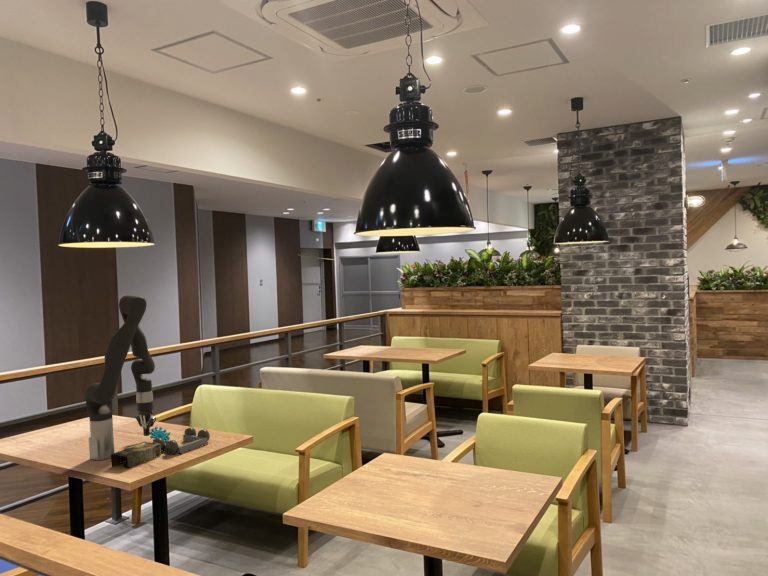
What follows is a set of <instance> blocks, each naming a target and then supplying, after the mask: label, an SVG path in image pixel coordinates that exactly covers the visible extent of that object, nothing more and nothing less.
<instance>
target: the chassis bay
mask: <svg viewBox="0 0 768 576" xmlns="http://www.w3.org/2000/svg"><path fill="white" fill-rule="evenodd" d="M210 437H211V436H210V432H209V431H208V430H207V429H206V428H204V429H201V430H198V432H197V431H196V429H195V428H194V427H192V426H191V427H187V428H186V429H185V430H184V434H183V435H182V441H183V442H185V441H187V442H186V443H185V444H182V445H179V444H178V442H177V441H176V440H174V439H172V440H168V442H167V443H166V442H165V440H164V441H163V439H162V438H157V439H155V438H153V439H152V442H155V443H159V444H160V445H161V451H162V452H165V451H167V452H166V453H168V455H170V454H172V455H175V454H176V453H182V454H184V453H183V452H185V453H186V451H187V452H189V450H190V451H193V450H194V449H197V448H200V446H201V447H203V446H205V444H206V445H208V444H209V440H210ZM164 442H165V443H164ZM202 445H203V446H202ZM192 449H193V450H192Z"/></svg>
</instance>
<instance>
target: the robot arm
mask: <svg viewBox="0 0 768 576" xmlns="http://www.w3.org/2000/svg"><path fill="white" fill-rule="evenodd" d="M119 299H120V300H119V302H118V308H119V312H120V315H121V318H122V320H123V324H122V325H121V327H120V328H119V329H117V331H116V332H114V334H113V335H112V336H111V337H110V338H109V341H108V343H107V346H106V349H105V351H104V371H103V374H102V377H101V380H100V382H93V383H91V384H89V386H87V388H86V391H85V405H86V412H87V415H88V418H89V433H90V434H89V435H90V436H89V437H88V450H89V452H88V453H89V454H88V455H89V460H94V461H102V460H107V459H111V454H113V453H116V451H115V440H114V439H115V437H114V423H113V422H114V421H113V420H114V419H113V411H112V410H111V409H110V408H109V406H108V404H110V402H112V400H113V399H114V396H115V394H116V391H117V386H118V384H119V378H120V376H121V372H122V369H123V366H124V364H125V360H126V359H127V356H128V353H129V350H130V349H131V353H132V355H133V356H134V357H135V358H139V359H135V360H133V361H132V363H131V365H130V370H131V373H132V376H133V378H134V382H135V387H136V388H135V389H136V397H135V398H136V411H137V412H138V415H135V420H136V421H137V423H138V426H139V427H141V428H142V429H143V430H142V431H143V436H144V437H148V436H149V437H150V436H151V435H150V434H149V433H150V432H151V429H150V428H151V427H153V426H154V424H155V423H156V421H157V417H156V416H154V414H153V410H154V393H153V383H152V380H151V378H148V377H144V376H143V375H150V374H152V373H154V372H155V367H156V366H155V361H154V359H153V357H152V356H151V354H150V351H149V348H148V343H147V339H146V336H145V333H144V331H142V329H141V327H140V326H139V325H140V323H141V321H142V319H143V317H144V315H145V313H146V310H147V304H148V303H147V299H145V298H144V297H143V296H140V295H139V296H137V295H124V296H122V297H121V298H119ZM130 347H131V348H130Z"/></svg>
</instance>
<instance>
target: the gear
mask: <svg viewBox="0 0 768 576" xmlns="http://www.w3.org/2000/svg"><path fill="white" fill-rule="evenodd" d="M171 433H172V432H170V431H169V432H167V430H166V429H163V427H161V426H160V427H158V426H154V427H153V428H151V429H150V433H149V434H150V435H149V438H150V440H151V439H152V440H153V439H157V438H162V439H163V441H164V443H165V444H166V443H167V442H168V441H170V439H171V436H170V435H171Z"/></svg>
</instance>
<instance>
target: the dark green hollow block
mask: <svg viewBox="0 0 768 576" xmlns="http://www.w3.org/2000/svg"><path fill="white" fill-rule="evenodd" d="M162 452H163V451H161V445H160V444H159V443H155V442H153V441H151V442H149V441H148V442H147V441H145V442H143V443H142V442H141V443H139V444H136V445H133V446H130V447H127V448H124V449H122V450H120V451H115V453H113V454H111V458H110V461H111V464H110V465H111V467H112V468H113V467H114V466H117V465H119V464H122V463H124V464H123V467H124V468H129V467H130V468H131V467H132V466H138V465H140V464H143V463H145V462H144V461H146V462H148V461H149V459H150V460H152V459H151V458H153V457H155V458H157V457H159V456H158V455H160V456H162ZM156 456H157V457H156ZM153 459H154V458H153ZM147 460H148V461H147ZM142 462H143V463H142Z"/></svg>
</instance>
